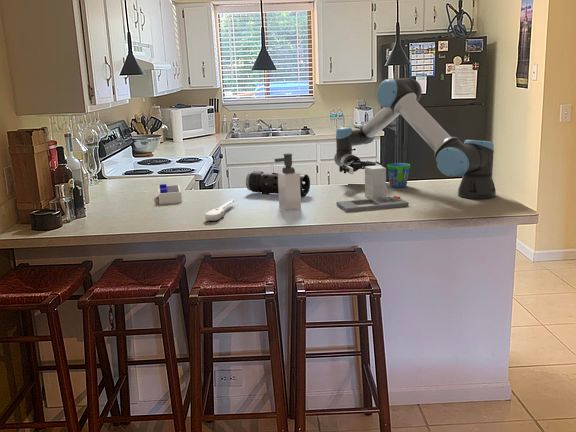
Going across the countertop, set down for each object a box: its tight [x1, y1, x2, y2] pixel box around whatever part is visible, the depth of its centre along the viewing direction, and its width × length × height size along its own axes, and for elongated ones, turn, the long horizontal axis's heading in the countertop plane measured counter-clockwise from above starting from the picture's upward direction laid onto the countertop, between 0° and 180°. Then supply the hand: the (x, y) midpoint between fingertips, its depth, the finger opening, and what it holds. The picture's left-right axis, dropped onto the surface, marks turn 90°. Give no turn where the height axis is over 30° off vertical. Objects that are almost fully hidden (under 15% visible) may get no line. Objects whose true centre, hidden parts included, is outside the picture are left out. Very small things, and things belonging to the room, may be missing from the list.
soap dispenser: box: [274, 153, 302, 212], centre depth 228 cm, size 6×9×22 cm
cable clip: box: [159, 183, 168, 193], centre depth 256 cm, size 12×4×6 cm, turn 13°
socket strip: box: [336, 194, 410, 213], centre depth 230 cm, size 26×12×2 cm, turn 103°
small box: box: [364, 165, 387, 199], centre depth 243 cm, size 8×6×13 cm
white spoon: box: [204, 199, 236, 222], centre depth 227 cm, size 28×6×3 cm, turn 167°
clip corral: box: [157, 184, 183, 205], centre depth 256 cm, size 10×18×4 cm, turn 13°
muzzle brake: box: [245, 170, 311, 198], centre depth 255 cm, size 10×28×10 cm, turn 64°
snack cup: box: [386, 162, 411, 188], centre depth 264 cm, size 16×10×10 cm
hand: (367, 170), depth 251 cm, fingers open, 13 cm apart
